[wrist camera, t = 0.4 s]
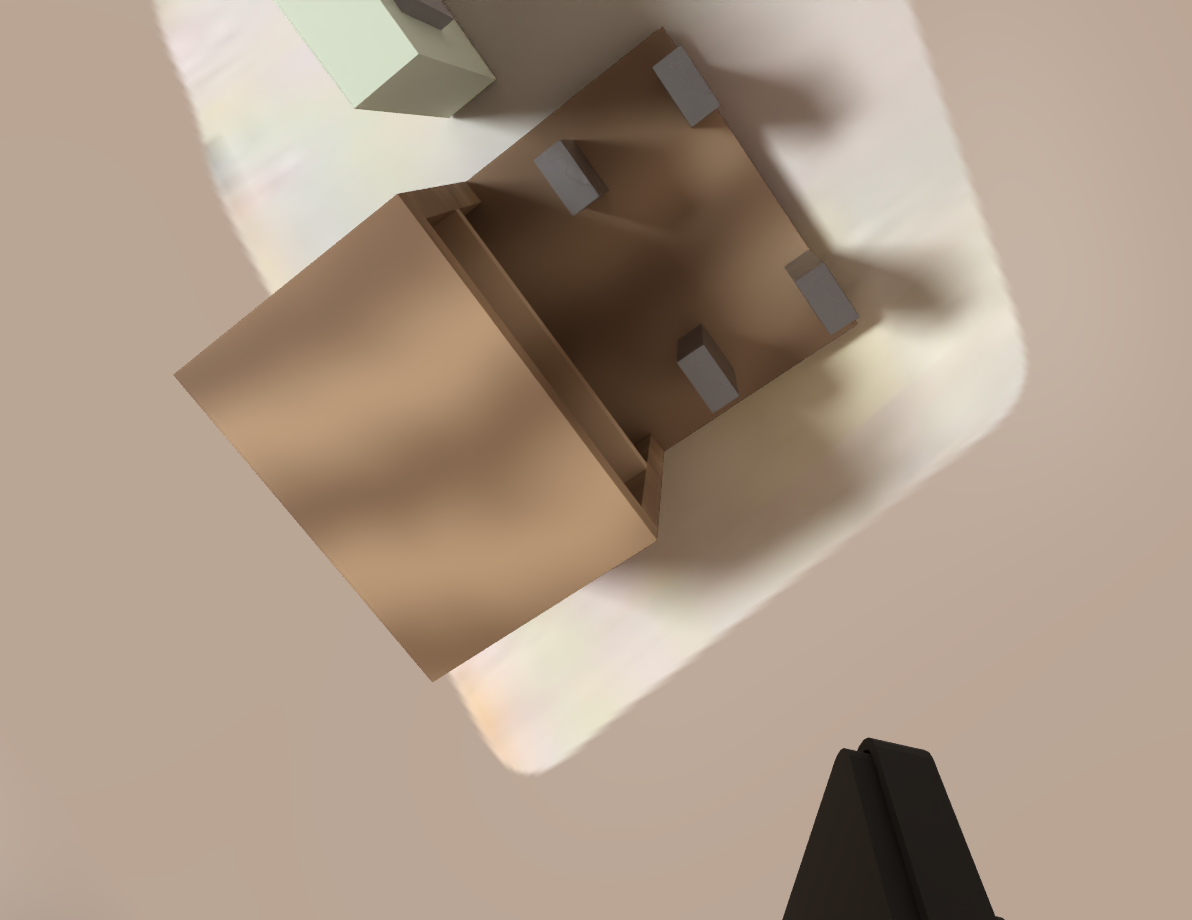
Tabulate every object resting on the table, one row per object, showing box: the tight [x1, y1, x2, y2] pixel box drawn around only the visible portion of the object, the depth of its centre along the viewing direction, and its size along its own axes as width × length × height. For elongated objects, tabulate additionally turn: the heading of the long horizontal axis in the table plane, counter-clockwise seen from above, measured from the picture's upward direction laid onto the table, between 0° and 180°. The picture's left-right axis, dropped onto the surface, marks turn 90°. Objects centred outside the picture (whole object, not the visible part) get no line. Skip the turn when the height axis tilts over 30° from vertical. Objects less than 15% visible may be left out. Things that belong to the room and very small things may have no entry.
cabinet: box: [174, 27, 858, 682], centre depth 37 cm, size 14×20×11 cm
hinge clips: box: [533, 45, 859, 413], centre depth 37 cm, size 11×6×4 cm, turn 36°
